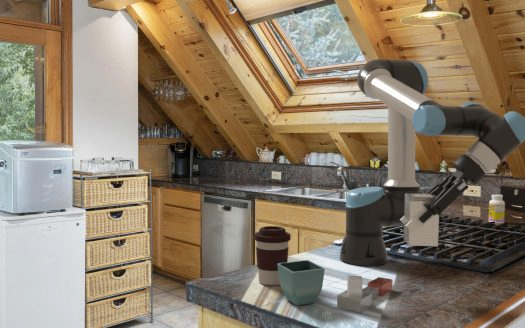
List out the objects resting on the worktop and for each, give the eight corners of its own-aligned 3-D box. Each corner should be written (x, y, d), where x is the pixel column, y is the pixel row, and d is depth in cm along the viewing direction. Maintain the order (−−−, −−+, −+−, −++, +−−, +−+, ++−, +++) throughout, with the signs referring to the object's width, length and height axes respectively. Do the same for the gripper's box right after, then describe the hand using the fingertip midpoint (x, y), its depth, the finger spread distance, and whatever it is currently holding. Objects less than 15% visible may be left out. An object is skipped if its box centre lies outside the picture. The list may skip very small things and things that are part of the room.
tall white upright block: (408, 245, 128) (410, 197, 127) (403, 239, 135) (405, 193, 134) (437, 246, 127) (439, 197, 126) (431, 239, 134) (432, 194, 133)
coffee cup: (248, 285, 139) (248, 230, 138) (261, 275, 148) (261, 223, 147) (283, 289, 136) (284, 232, 135) (294, 279, 145) (295, 226, 144)
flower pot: (292, 310, 120) (292, 271, 119) (276, 298, 128) (276, 262, 128) (325, 305, 124) (325, 268, 123) (307, 294, 132) (307, 259, 131)
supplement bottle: (487, 221, 243) (488, 193, 242) (502, 221, 241) (503, 194, 240) (489, 223, 237) (490, 195, 236) (505, 224, 235) (506, 196, 234)
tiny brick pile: (337, 307, 122) (337, 278, 122) (375, 286, 139) (375, 260, 138) (360, 312, 118) (360, 282, 118) (396, 290, 135) (397, 264, 135)
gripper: (500, 178, 118) (425, 246, 121) (473, 171, 138) (409, 229, 141) (477, 155, 118) (403, 223, 121) (453, 150, 138) (389, 209, 141)
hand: (406, 226), depth 131 cm, fingers closed on tall white upright block, 7 cm apart
